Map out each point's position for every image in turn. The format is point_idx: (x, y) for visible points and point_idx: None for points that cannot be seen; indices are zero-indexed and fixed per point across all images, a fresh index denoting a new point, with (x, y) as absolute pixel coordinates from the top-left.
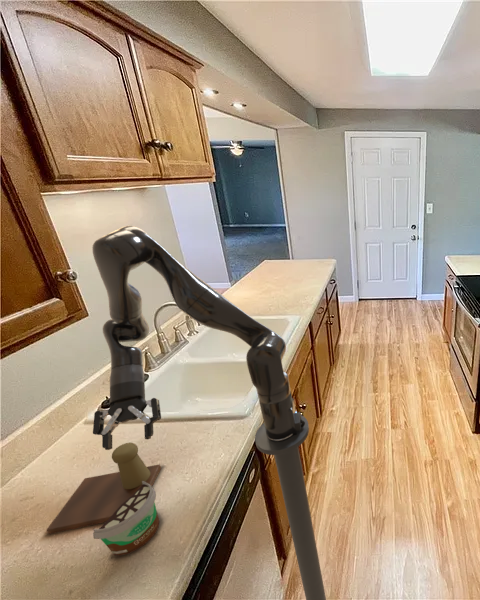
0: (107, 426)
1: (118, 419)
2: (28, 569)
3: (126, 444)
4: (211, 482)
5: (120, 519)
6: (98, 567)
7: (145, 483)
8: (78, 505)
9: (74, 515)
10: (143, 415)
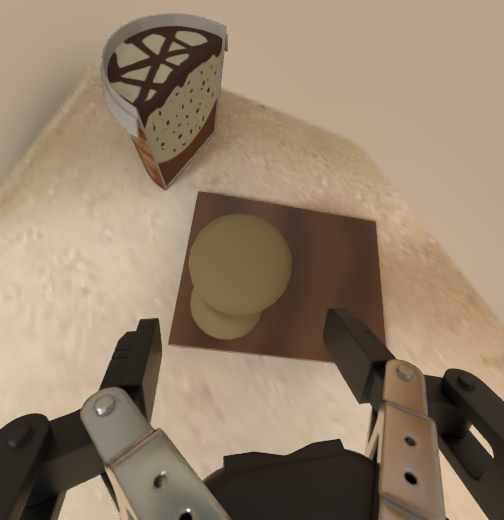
0: (414, 409)
1: (361, 464)
2: (354, 169)
3: (236, 273)
4: (11, 223)
5: (174, 41)
6: (236, 124)
7: (125, 103)
8: (345, 264)
9: (337, 235)
10: (116, 461)
